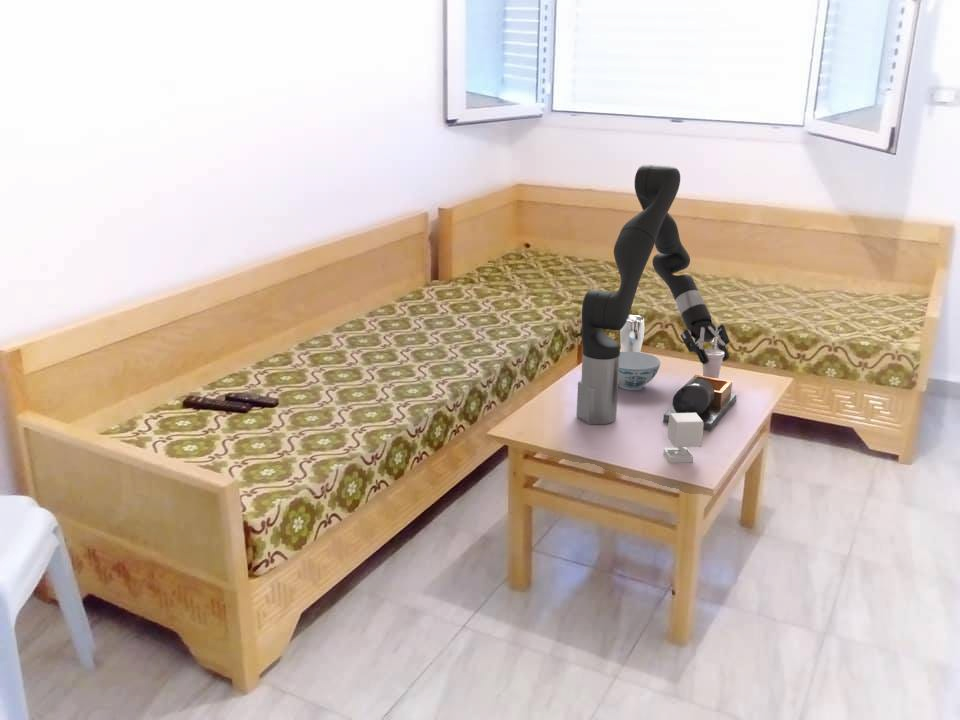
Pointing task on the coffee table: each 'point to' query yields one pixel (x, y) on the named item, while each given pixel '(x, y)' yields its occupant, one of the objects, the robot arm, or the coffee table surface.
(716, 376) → the smoothie
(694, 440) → the security camera
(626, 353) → the chinaware
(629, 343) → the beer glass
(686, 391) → the motor mount
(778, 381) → the coffee table surface
